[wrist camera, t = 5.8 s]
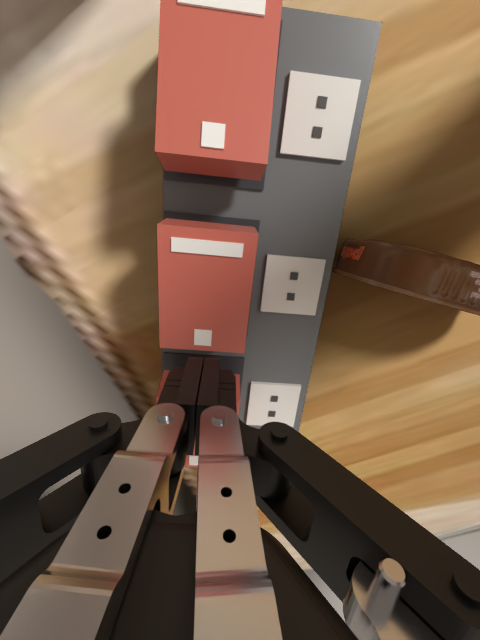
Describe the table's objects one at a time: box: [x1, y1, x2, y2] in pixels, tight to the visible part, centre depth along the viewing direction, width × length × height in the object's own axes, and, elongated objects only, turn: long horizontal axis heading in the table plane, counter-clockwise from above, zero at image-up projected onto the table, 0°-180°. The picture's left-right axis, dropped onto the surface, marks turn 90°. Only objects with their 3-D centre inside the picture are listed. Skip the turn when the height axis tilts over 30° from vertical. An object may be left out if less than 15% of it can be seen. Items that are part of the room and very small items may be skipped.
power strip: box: [162, 7, 382, 432], centre depth 21 cm, size 11×28×5 cm, turn 175°
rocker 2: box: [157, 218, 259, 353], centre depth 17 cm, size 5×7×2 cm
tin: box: [333, 239, 480, 316], centre depth 20 cm, size 15×3×8 cm, turn 74°
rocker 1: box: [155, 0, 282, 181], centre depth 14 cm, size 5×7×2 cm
